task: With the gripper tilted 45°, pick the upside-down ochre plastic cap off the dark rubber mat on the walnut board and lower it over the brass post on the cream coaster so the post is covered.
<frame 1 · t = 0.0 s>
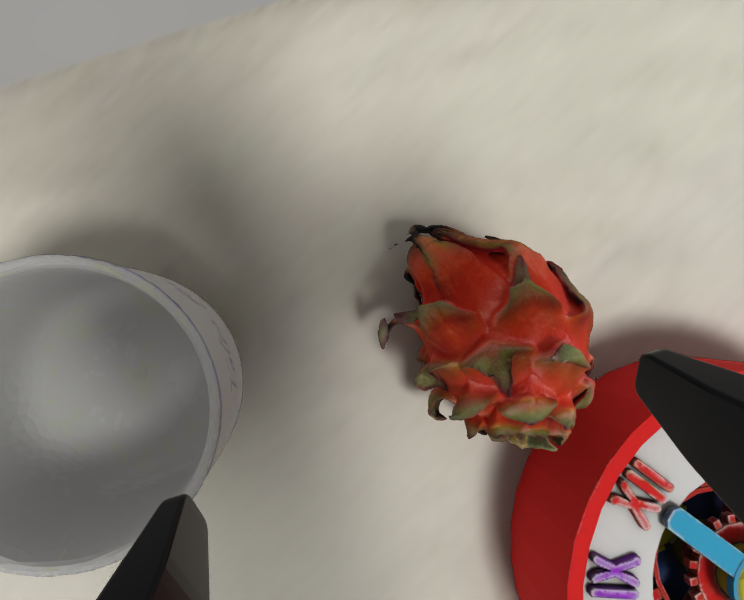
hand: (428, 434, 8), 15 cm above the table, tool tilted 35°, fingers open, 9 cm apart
toy clock: (675, 530, 25), on the table
teacup: (125, 365, 22), on the table
dragon fruit: (461, 330, 24), on the table
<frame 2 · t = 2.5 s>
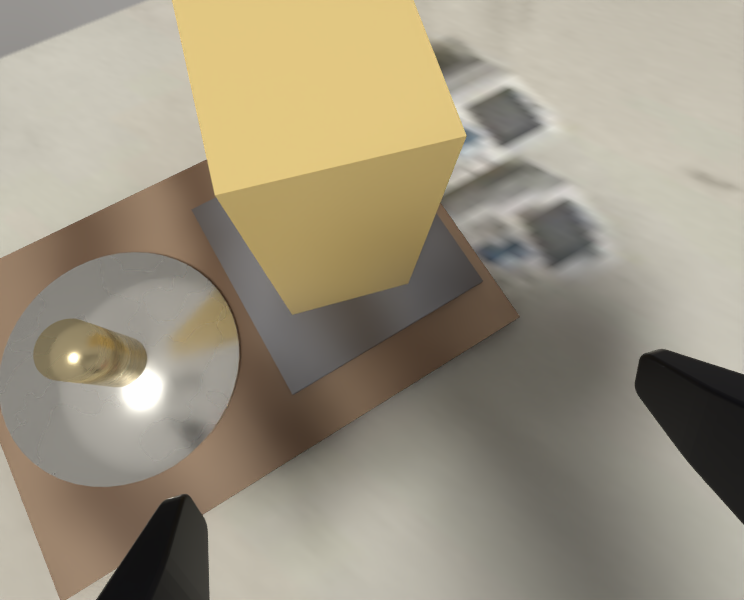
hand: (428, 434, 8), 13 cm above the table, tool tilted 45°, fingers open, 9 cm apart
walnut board: (238, 306, 22), on the table
cover cup: (335, 244, 22), point 1 cm above the table, touching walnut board
brass post: (124, 362, 21), resting on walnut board
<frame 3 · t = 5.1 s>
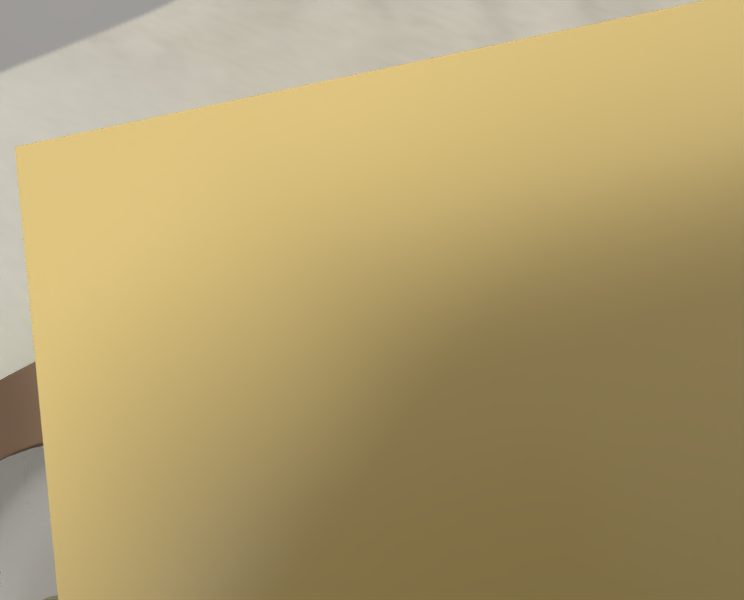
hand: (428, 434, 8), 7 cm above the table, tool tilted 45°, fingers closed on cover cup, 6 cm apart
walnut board: (246, 516, 14), on the table
cover cup: (397, 422, 14), point 1 cm above the table, touching gripper, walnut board
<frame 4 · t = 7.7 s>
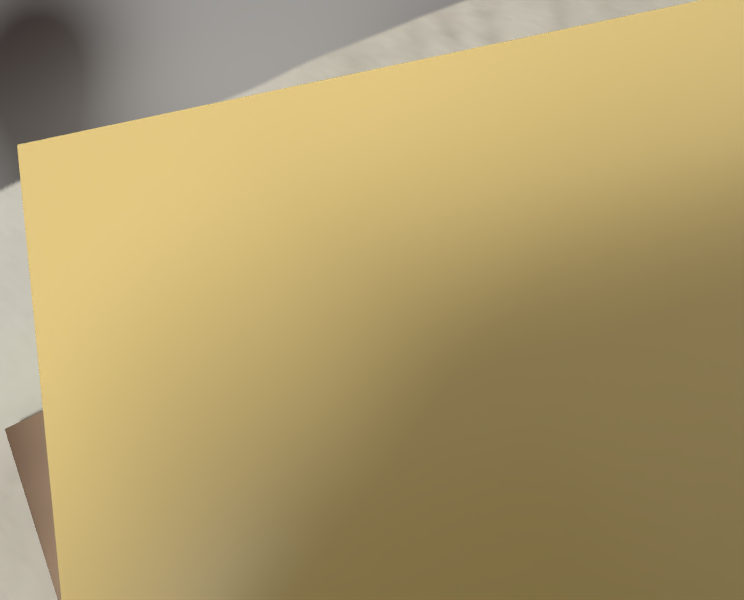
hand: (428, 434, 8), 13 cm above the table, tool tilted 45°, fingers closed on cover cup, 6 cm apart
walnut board: (319, 461, 21), on the table
cover cup: (398, 422, 14), point 7 cm above the table, touching gripper
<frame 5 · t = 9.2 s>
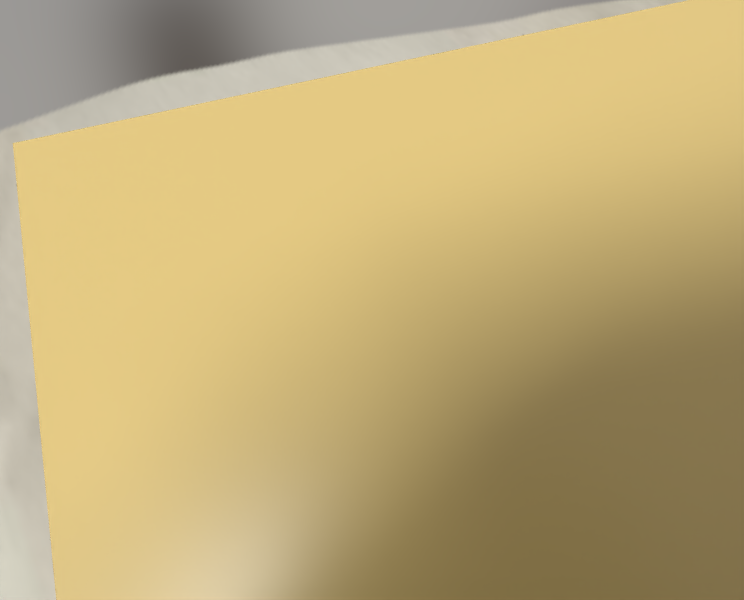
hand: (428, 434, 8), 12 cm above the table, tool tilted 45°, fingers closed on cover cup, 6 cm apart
cover cup: (397, 422, 14), point 6 cm above the table, touching gripper
when the fingers open (8 cm above the table, at t = 10.4 s): cover cup stays where it is, resting on brass post.
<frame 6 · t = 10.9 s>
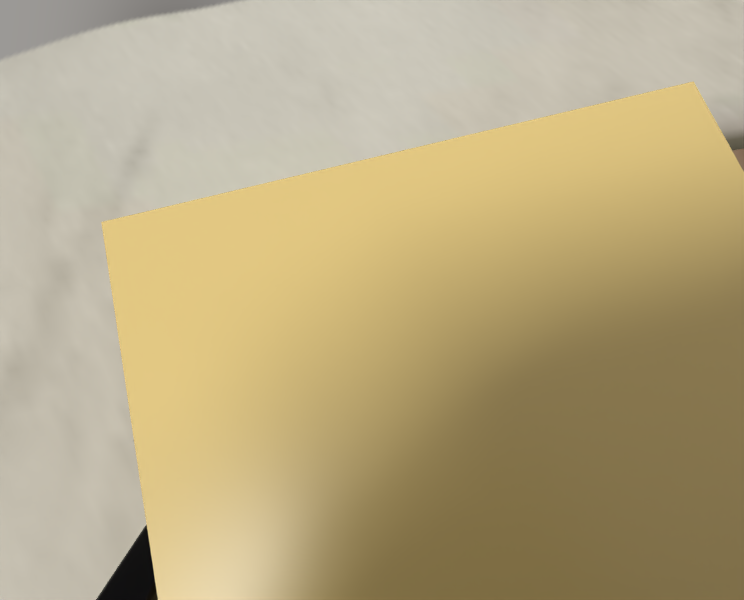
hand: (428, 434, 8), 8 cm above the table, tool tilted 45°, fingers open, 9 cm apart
cover cup: (396, 424, 15), point 1 cm above the table, touching brass post
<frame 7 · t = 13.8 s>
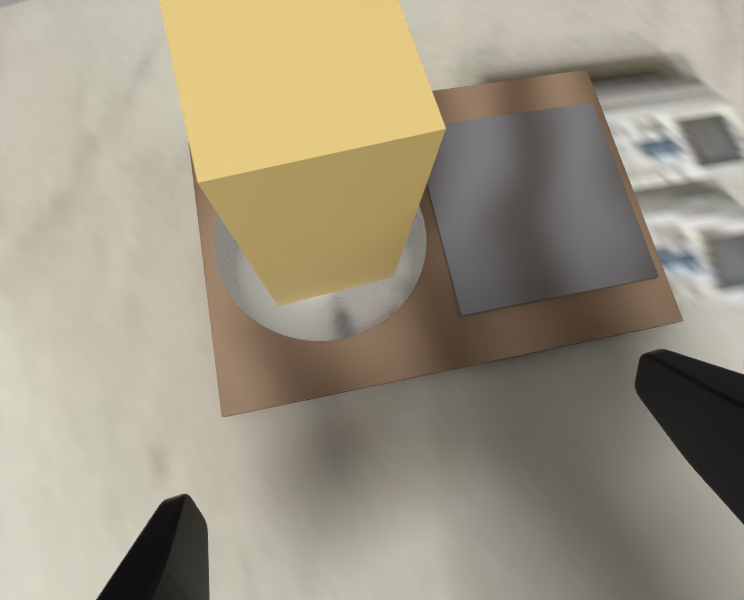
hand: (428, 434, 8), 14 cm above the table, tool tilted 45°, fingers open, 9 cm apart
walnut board: (426, 226, 24), on the table
cover cup: (322, 237, 22), point 1 cm above the table, touching brass post
brass post: (322, 238, 23), resting on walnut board
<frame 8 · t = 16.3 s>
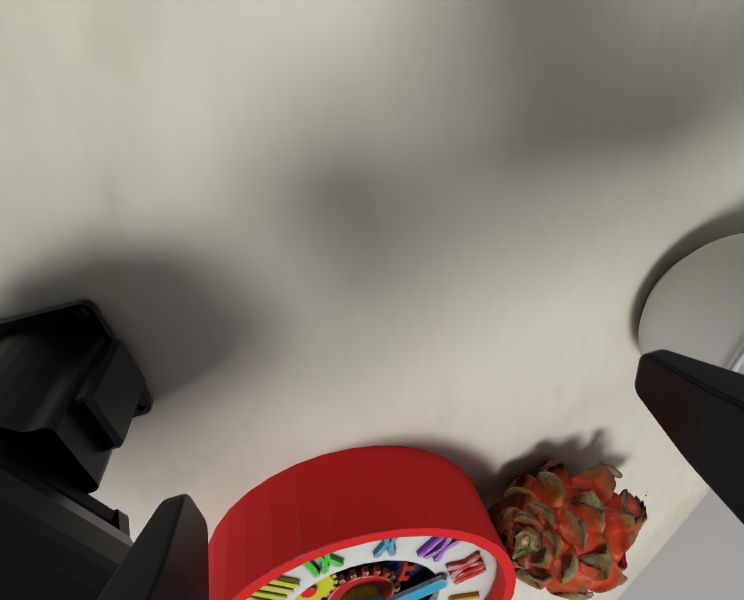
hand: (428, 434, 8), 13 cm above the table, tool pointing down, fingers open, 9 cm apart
toy clock: (350, 539, 32), on the table
teacup: (707, 282, 27), on the table
dragon fruit: (538, 476, 33), on the table
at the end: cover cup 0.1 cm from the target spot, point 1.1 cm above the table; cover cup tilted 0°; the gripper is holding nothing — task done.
